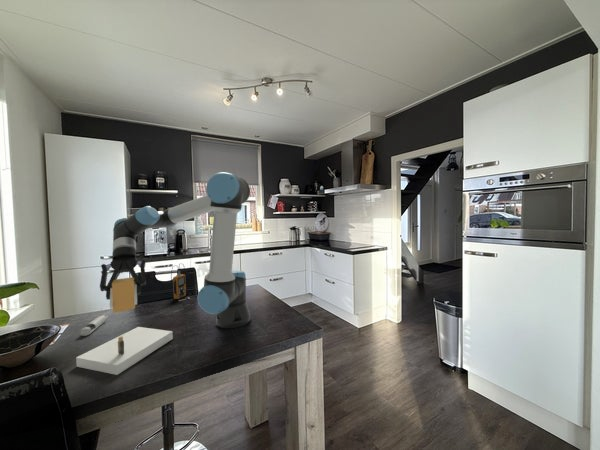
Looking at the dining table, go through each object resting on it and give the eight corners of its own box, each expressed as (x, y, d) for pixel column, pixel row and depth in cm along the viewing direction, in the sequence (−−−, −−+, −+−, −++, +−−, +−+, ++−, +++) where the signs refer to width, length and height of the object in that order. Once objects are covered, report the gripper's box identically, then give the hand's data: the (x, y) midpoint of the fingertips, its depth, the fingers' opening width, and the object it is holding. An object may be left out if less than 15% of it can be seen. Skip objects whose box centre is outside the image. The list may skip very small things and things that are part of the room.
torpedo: (91, 336, 97) (90, 320, 97) (77, 338, 96) (76, 322, 96) (112, 318, 115) (111, 305, 114) (100, 319, 113) (99, 306, 113)
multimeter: (184, 302, 134) (183, 267, 134) (168, 301, 136) (167, 266, 136) (200, 294, 149) (199, 262, 148) (186, 293, 151) (185, 261, 150)
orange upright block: (135, 303, 89) (134, 277, 89) (134, 308, 84) (133, 280, 84) (115, 307, 86) (113, 279, 85) (113, 313, 81) (111, 283, 80)
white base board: (172, 338, 94) (172, 317, 94) (117, 374, 73) (115, 347, 73) (138, 333, 99) (137, 313, 98) (76, 366, 77) (75, 340, 77)
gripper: (152, 254, 102) (156, 304, 89) (94, 259, 92) (89, 316, 79) (152, 243, 98) (156, 293, 85) (91, 247, 87) (85, 305, 74)
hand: (123, 304), depth 82 cm, fingers closed on orange upright block, 6 cm apart
